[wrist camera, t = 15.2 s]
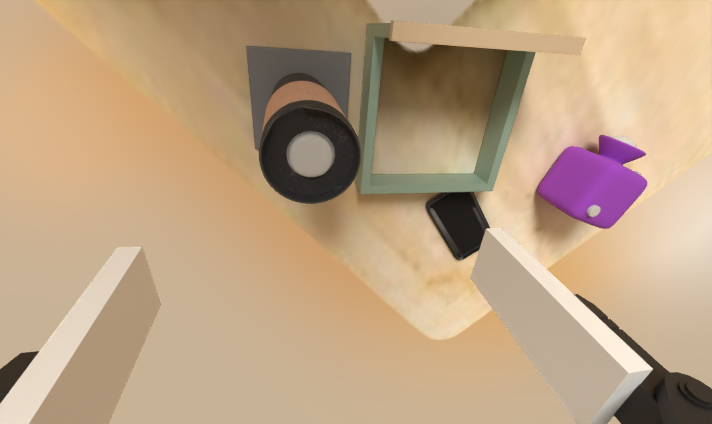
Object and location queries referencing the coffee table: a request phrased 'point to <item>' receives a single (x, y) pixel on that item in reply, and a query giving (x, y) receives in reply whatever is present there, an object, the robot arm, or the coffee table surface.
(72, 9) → the coffee table surface
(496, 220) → the coffee table surface
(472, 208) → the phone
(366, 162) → the frame
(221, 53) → the coffee table surface
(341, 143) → the travel mug
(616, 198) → the toy camera
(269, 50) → the rubber mat
